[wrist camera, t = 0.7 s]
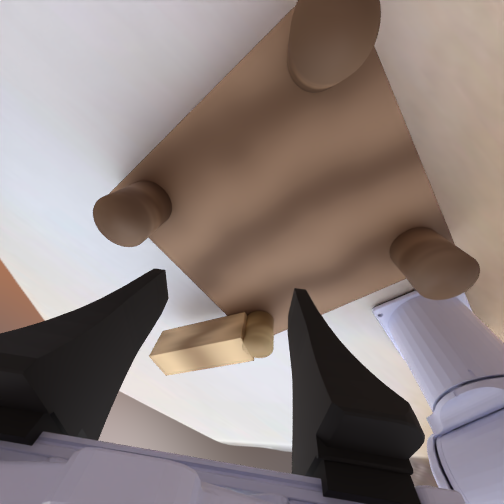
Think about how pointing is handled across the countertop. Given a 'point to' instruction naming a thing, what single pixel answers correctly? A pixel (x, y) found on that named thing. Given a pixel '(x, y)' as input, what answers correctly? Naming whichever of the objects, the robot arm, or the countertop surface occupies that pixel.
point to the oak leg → (214, 343)
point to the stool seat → (294, 178)
